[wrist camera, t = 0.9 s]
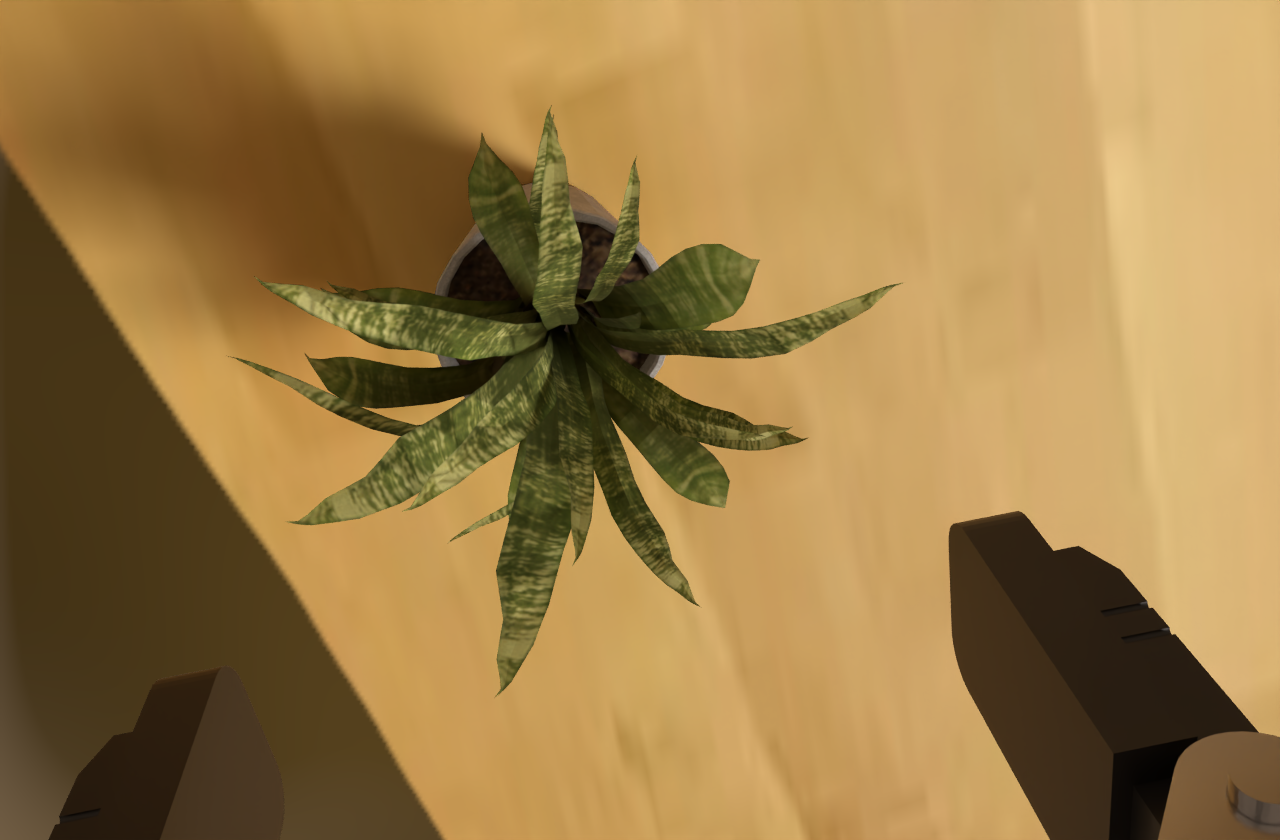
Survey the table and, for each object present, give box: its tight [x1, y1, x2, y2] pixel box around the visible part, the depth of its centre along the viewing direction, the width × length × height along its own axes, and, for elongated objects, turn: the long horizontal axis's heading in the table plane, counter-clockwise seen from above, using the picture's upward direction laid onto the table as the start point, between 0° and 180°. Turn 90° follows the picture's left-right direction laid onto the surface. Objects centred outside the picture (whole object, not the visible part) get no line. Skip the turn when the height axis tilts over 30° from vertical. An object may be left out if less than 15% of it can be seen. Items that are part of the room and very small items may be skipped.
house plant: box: [228, 105, 902, 697], centre depth 30 cm, size 14×14×16 cm
